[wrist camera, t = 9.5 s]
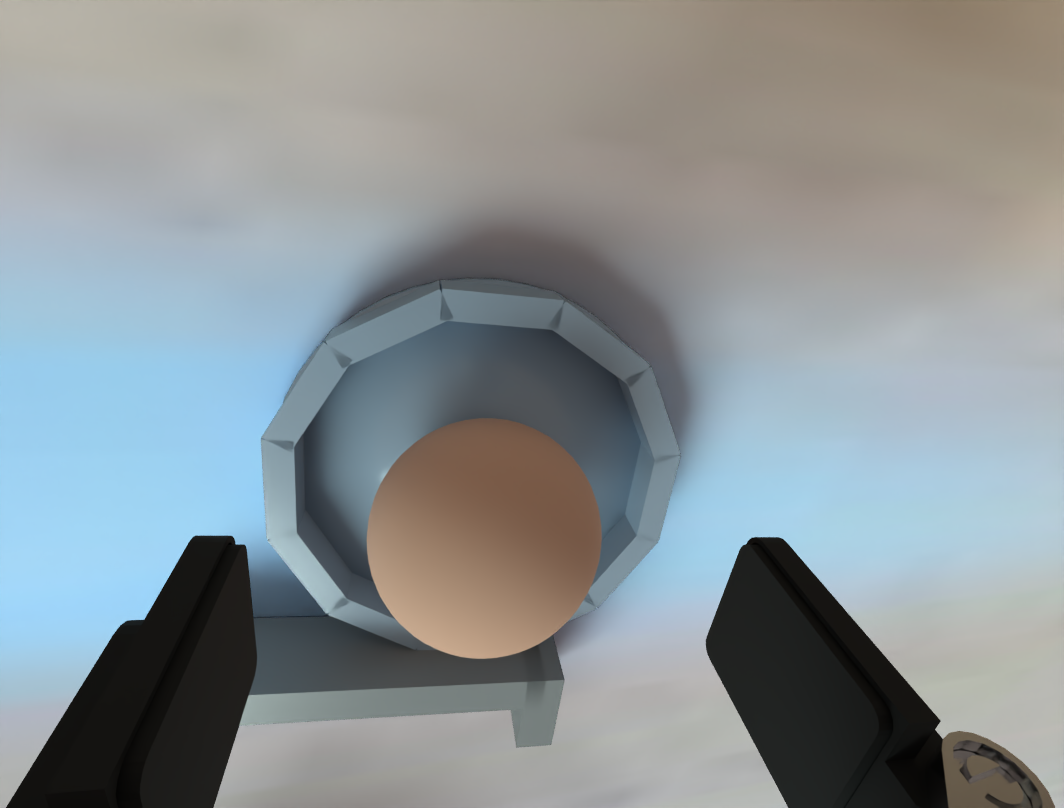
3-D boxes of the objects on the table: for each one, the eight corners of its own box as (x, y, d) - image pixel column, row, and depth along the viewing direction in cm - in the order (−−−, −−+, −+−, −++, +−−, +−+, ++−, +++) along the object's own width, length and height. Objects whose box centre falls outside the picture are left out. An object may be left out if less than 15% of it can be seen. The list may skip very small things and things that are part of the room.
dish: (265, 255, 14) (246, 265, 13) (695, 299, 17) (721, 312, 15) (282, 619, 19) (270, 658, 17) (620, 611, 21) (634, 644, 20)
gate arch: (180, 619, 18) (135, 700, 15) (546, 611, 20) (564, 680, 18) (188, 687, 19) (148, 774, 16) (535, 671, 22) (551, 744, 19)
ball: (381, 377, 15) (352, 492, 10) (587, 391, 17) (660, 501, 11) (375, 552, 18) (349, 724, 12) (557, 553, 19) (606, 710, 13)
